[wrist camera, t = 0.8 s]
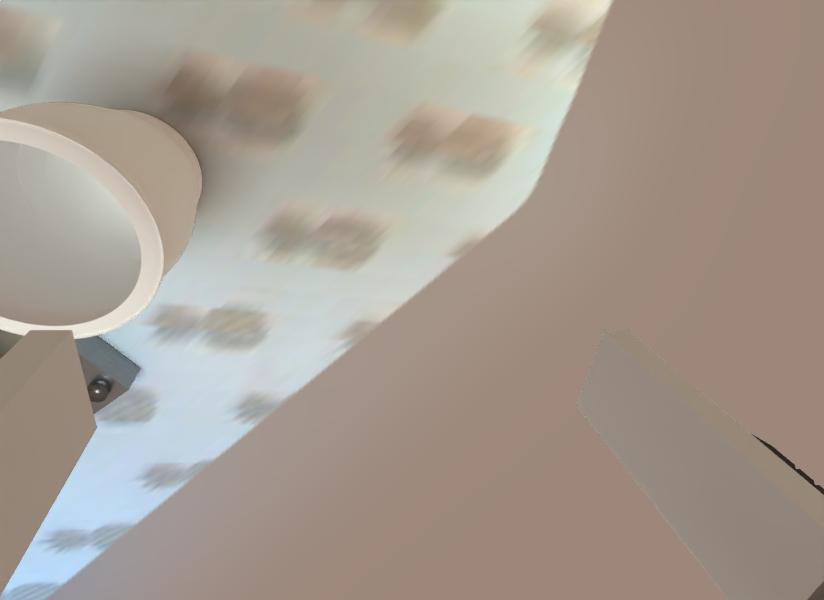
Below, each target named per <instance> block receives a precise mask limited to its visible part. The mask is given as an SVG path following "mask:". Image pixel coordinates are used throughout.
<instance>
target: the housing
mask: <svg viewBox="0 0 824 600" xmlns="http://www.w3.org/2000/svg"><path fill="white" fill-rule="evenodd" d="M23 337H24V336H23V335H19V334H14V333H11V332H7V331H4V330H1V329H0V353H2V354H4V355H5V354H6V353H7V352H8V351H9V350H10V349H11V348H12V347H13V346H14V345H15V344H16V343H17V342H18V341H20V340H21V339H22V338H23ZM74 340H75V344H76V347H77V351H78V355H79V359H80V363H81V367H82V371H83V375H84V379H85V383H86V387H87V390H88V394H89V398H90V402H91V406H92V410H93V414H95V413H96V412H98V411H99V410H100V409H102V408H103V407H105V406H106V405H107V404H109V403H110V402H112V401H113V400H115V399H116V398H117V397H119V396H120V395H122V394H123V393H125V392H126V391H127V390H129V388H130V386H131V385H132V383H133V381H134V379H135V377H136V376H137V374H138V372H139V370H140V367H138V366H137V365H136V364H134V363H133V362H132V361H130V360H129V359H128V358H126V357H125V356H124V355H122V354H121V353H120V352H118V351H117V350H116V349H114V348H113V347H112V346H110V345H109V344H108V343H106V342H105V341H104V340H102V339H101V338H99V337H98V336H97V335H96V336H92V337H87V338H80V339H74Z"/></svg>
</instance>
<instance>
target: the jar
mask: <svg viewBox="0 0 824 600" xmlns="http://www.w3.org/2000/svg"><path fill="white" fill-rule="evenodd" d="M201 191H202V173H201V168H200V165H199V162H198V160H197V157H196V155H195V153H194V152H193V150H192V148H191V147H190V146H189V144H188V143H187V142H186V140H185V139H184V138H183V137H182V136H181V135H180V134H179V133H178V132H177V131H176V130H174V129H173V128H172V127H170V126H169V125H168V124H166V123H164V122H163V121H161V120H159V119H157V118H155V117H153V116H151V115H148V114H145V113H142V112H138V111H133V110H122V109H119V110H115V109H110V108H104V107H99V106H94V105H88V104H80V103H68V102H52V103H39V104H32V105H26V106H21V107H17V108H13V109H10V110H6V111H3V112H0V329H1V330H4V331H7V332H11V333H14V334H19V335H23V336H25V335H26V334H27V333H28V332H29V331H30V330H72V332H73V336H74V339H80V338H87V337H92V336H96V335H100V334H104V333H107V332H110V331H112V330H115V329H117V328H119V327H121V326H123V325H125V324H126V323H128V322H130V321H131V320H133V319H134V318H135V317H136V316H138V315H139V314H140V313H141V312H142V311H143V310H144V309H145V308H146V307H147V306H148V304H149V303H150V302H151V300H152V299H153V297H154V296H155V294H156V292H157V290H158V288H159V286H160V284H161V281H162V279H163V277H164V276H165V275H166V274H167V273H168V272H169V271H170V270H171V268H172V267H173V266H174V265H175V264H176V262H177V261H178V260H179V258H180V257H181V255H182V254H183V252H184V250H185V248H186V246H187V244H188V242H189V240H190V237H191V235H192V231H193V228H194V223H195V217H196V210H197V203H198V201H199V198H200V195H201Z"/></svg>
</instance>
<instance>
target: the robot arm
mask: <svg viewBox="0 0 824 600" xmlns="http://www.w3.org/2000/svg"><path fill="white" fill-rule="evenodd" d="M577 407H578V408H579V409H580V411H581V412H582V413H583V414H584V416H585V417H586V418H587V420H588V421H589V422H590V424H591V425H592V426H593V427H594V428H595V430H596V431H597V433H598V434H599V435H600V436H601V438H602V439H603V440H604V442H605V443H606V444H607V445H608V447H609V448H610V449H611V451H612V452H613V453H614V454H615V456H616V457H617V458H618V459H619V461H620V462H621V463H622V465H623V466H624V467H625V468H626V470H627V471H628V472H629V474H630V475H631V476H632V477H633V478H634V480H635V481H636V483H637V484H638V485H639V486H640V488H641V489H642V490H643V492H644V493H645V494H646V495H647V497H648V498H649V499H650V501H651V502H652V503H653V504H654V506H655V507H656V508H657V510H658V511H659V512H660V513H661V515H662V516H663V517H664V519H665V520H666V521H667V522H668V524H669V525H670V526H671V527H672V529H673V530H674V531H675V532H676V534H677V535H678V537H679V538H680V539H681V540H682V542H683V543H684V544H685V545H686V547H687V548H688V549H689V551H690V552H691V553H692V555H693V556H694V557H695V558H696V560H697V561H698V562H699V563H700V565H701V566H702V567H703V568H704V570H705V571H706V573H707V574H708V575H709V576H710V578H711V579H712V580H713V582H714V583H715V584H716V585H717V587H718V588H719V589H720V591H721V592H722V593H723V594H724V596H725V597H726V598H727V600H824V489H823V488H822V487H821V486H819V485H815V484H814V481H813V480H812V479H811V478H810V477H809V476H807V475H806V474H805V473H804V472H803V471H801V470H800V469H796V468H795V465H794V464H793V463H792V462H791V461H789V460H788V459H787V458H786V457H784V456H783V455H782V454H781V453H780V452H778V451H777V450H776V449H775V448H774V447H772V446H771V445H769V444H768V443H766V442H764V441H763V440H761V439H759V438H758V437H756V436H754V435H752V434H751V433H749V432H748V431H747V430H746V429H745V428H744V427H742V426H741V425H740V424H739V423H738V422H736V421H735V420H734V419H733V418H732V417H730V416H729V415H728V414H727V413H726V412H725V411H723V410H722V409H721V408H720V407H719V406H717V405H716V404H715V403H714V402H713V401H711V400H710V399H709V398H708V397H707V396H706V395H704V394H703V393H702V392H701V391H700V390H698V389H697V388H696V387H695V386H694V385H692V384H691V383H690V382H689V381H688V380H687V379H685V378H684V377H683V376H682V375H681V374H679V373H678V372H677V371H676V370H675V369H674V368H672V367H671V366H670V365H669V364H668V363H666V362H665V361H664V360H663V359H662V358H660V357H659V356H658V355H657V354H656V353H655V352H653V351H652V350H651V349H650V348H649V347H647V346H646V345H645V344H644V343H643V342H641V341H640V340H639V339H638V338H637V337H636V336H634V335H633V334H632V333H631V332H630V331H628V330H604V332H603V335H602V337H601V340H600V343H599V345H598V348H597V351H596V354H595V356H594V359H593V362H592V365H591V367H590V370H589V373H588V375H587V378H586V381H585V384H584V386H583V389H582V392H581V395H580V397H579V400H578V403H577ZM96 428H97V426H96V422H95V418H94V414H93V410H92V406H91V402H90V398H89V394H88V390H87V387H86V383H85V379H84V375H83V371H82V367H81V363H80V359H79V355H78V351H77V347H76V344H75V340H74V336H73V332H72V330H30V331H29V332H28V333H27V334H26V335H25V336H24V337H23V338H22V339H21V340H20V341H18V342H17V343H16V344H15V345H14V346H13V347H12V348H11V349H10V350H9V351H8V352H7V353H6V354H5V355H4V356H3V357H2V358H1V359H0V596H1V594H2V592H3V590H4V589H5V587H6V585H7V583H8V582H9V580H10V578H11V576H12V575H13V573H14V571H15V569H16V568H17V566H18V564H19V563H20V561H21V559H22V557H23V556H24V554H25V552H26V550H27V549H28V547H29V545H30V543H31V542H32V540H33V538H34V536H35V535H36V533H37V531H38V529H39V528H40V526H41V524H42V522H43V521H44V519H45V517H46V515H47V514H48V512H49V510H50V508H51V507H52V505H53V503H54V502H55V500H56V498H57V496H58V495H59V493H60V491H61V489H62V488H63V486H64V484H65V482H66V481H67V479H68V477H69V475H70V474H71V472H72V470H73V468H74V467H75V465H76V463H77V461H78V460H79V458H80V456H81V454H82V453H83V451H84V449H85V447H86V446H87V444H88V442H89V440H90V439H91V437H92V435H93V434H94V432H95V430H96Z"/></svg>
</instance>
